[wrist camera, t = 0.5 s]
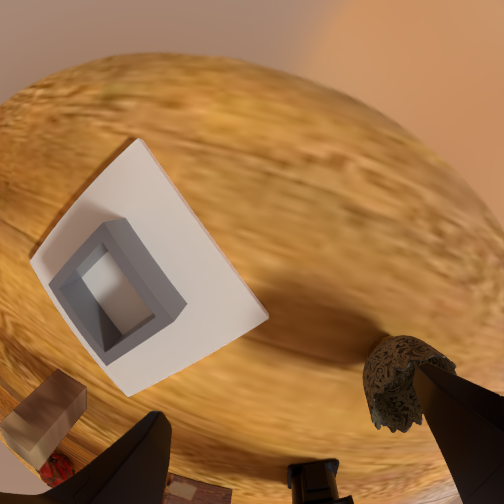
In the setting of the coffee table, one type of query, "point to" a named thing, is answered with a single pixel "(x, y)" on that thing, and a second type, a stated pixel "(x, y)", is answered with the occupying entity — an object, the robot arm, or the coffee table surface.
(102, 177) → the plate
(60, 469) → the dragon fruit
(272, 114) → the coffee table surface
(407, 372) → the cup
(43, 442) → the walnut post
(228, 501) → the book
